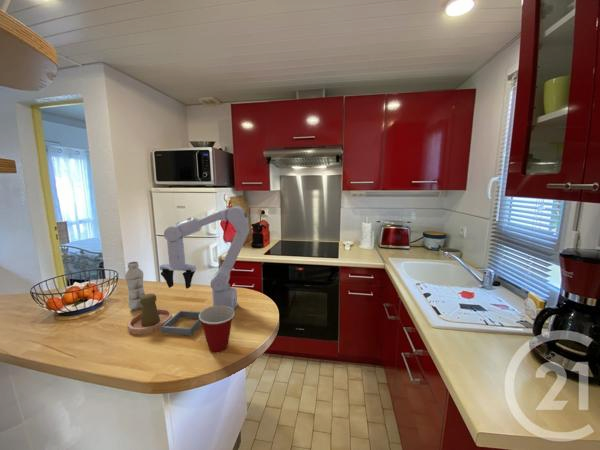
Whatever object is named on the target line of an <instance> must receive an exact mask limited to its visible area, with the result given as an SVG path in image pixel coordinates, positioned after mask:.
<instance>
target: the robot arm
mask: <svg viewBox="0 0 600 450" xmlns="http://www.w3.org/2000/svg"><path fill="white" fill-rule="evenodd" d="M217 221H223V222H227V221H228V222H229V223H230V224H231V225H232V226H233V228H234V230H235V231H236V232H235V235H234V237H233V239H232V241H231V244H230V246H229V248H228V250H227V252H226V255H225V257H224V260H223V261H222V263H221V265H220V267H219V269H218V270H217V271H216V273H215V275H214V277H213V278H212V279H211V280H210V288H211V292H212V305H213V306H227V307H231V308H232V309H234V310H235V309H236V308H237V306H238V305H239V303H238V291H237V289H236V288H234V287H231V284H230V283H229V281H230V279H231V271H232V269H233V267H234V265H235V263H236V261H237V260H238V257H239V254H240V252H241V250H242V248H243V245H244V244H245V242H246V240H247V237H248V236H249V233H250V226H249V225H250V224H249V219H248V214H247V212H246V210H245V209H244V207H242V206H240V205H235V206H232V207H227V208H223V209H220V210H217V211H215V212H213V213H211V214H208V215H205V216H204V217H201V218H197V217H188V218H186V220H184V221H182V222H176V223H175V224H174V225H171V226H168V227H167V228H166V229H165V230H164V232H163V236H164V239H165V240H166V242H167V243H166V245H167V254H168V256H167V257H168V263H167V264H166V263H165V264H164V263H163V264H159V271H161V272H160V275H161V276H162V278H163V279H164V280H165V283H166V284H167V287H168V288H169V289H171V288H172V287H174V271H182V272H183V273H182V277H183V279H184V282H185V283H184V284H185V289H190V288H191V285H192V280H193V276H194V275H195V273H196V271H197V265H193V264H188V263H186V256H185V245H184V238H185V237H188V236H190V235H192V234H196V233H197V232H200V231H201V230H202V227H204V226H207V225H209V224H212V223H216V222H217Z"/></svg>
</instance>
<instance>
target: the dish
mask: <svg viewBox="0 0 600 450" xmlns="http://www.w3.org/2000/svg"><path fill="white" fill-rule="evenodd" d="M157 311H158V314H159V318H160V322H159V323H158V324H156V325H154V326H150V327H142V326H141V323H142V312H141V313H138V314H136V315H134V316H133V317H131V318H130V319H129V321H128V323H127V331H128V332H129V333H130V334H131V335H140V336H141V335H147V334H150V333H155V332H158V331H159V330H160V331H161V326H163V325H164V324H165V323H166V322H167V321H168V320H170V319H171V318H172V317H173V312H172V311H171V310H170V309H168V308H157Z"/></svg>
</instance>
